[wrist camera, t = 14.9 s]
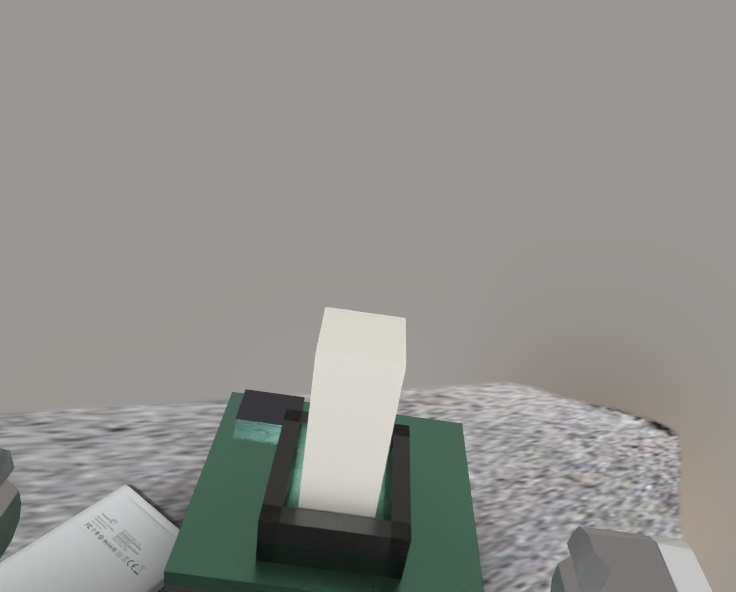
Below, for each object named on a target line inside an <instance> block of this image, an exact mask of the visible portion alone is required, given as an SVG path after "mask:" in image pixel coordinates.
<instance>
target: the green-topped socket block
mask: <svg viewBox="0 0 736 592" xmlns="http://www.w3.org/2000/svg"><path fill="white" fill-rule="evenodd" d="M304 398H305V397H297V396H290V395H283V394H275V393H268V392H260V391H253V390H245V393H244V394H243V393H236V392H232V394H231V397H230V399H229V402H228V405H227V407H226V410H225V413H224V415H223V418H222V420H221V423H220V426H219V428H218V431H217V433H216V436H215V439H214V441H213V444H212V446H211V449H210V452H209V454H208V457H207V460H206V462H205V465H204V467H203V470H202V473H201V475H200V478H199V480H198V483H197V486H196V488H195V491H194V494H193V496H192V499H191V501H190V504H189V507H188V509H187V512H186V514H185V517H184V520H183V522H182V525H181V528H180V530H179V533H178V535H177V538H176V541H175V543H174V546H173V548H172V551H171V554H170V556H169V559H168V561H167V564H166V567H165V569H164V588H165V592H484V591H483V583H482V575H481V567H480V560H479V552H478V544H477V536H476V529H475V521H474V513H473V505H472V497H471V490H470V482H469V474H468V466H467V459H466V451H465V443H464V435H463V428H462V423H455V422H447V421H440V420H433V419H425V418H418V417H411V416H403V415H396V417H395V422H394V427H393V432H392V437H391V442H390V447H389V452H388V456H387V461H386V466H385V471H384V476H383V481H382V486H381V491H380V495H379V500H378V505H377V510H376V515H375V519H372V518H365V517H357V516H349V515H342V514H334V513H327V512H319V511H312V510H304V509H298V504H299V496H300V487H301V478H302V469H303V461H304V452H305V443H306V434H307V425H308V417H309V408H310V403H309V402H304Z"/></svg>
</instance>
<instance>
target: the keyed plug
mask: <svg viewBox="0 0 736 592" xmlns="http://www.w3.org/2000/svg"><path fill="white" fill-rule="evenodd" d="M405 369H406V319H405V318H399V317H393V316H386V315H379V314H372V313H365V312H358V311H351V310H344V309H337V308H329V307H326V308H325V312H324V317H323V321H322V326H321V331H320V335H319V340H318V345H317V350H316V356H315V365H314V373H313V382H312V390H311V399H310V408H309V417H308V425H307V434H306V443H305V452H304V461H303V469H302V478H301V487H300V496H299V504H298V509H304V510H312V511H319V512H327V513H334V514H342V515H349V516H357V517H365V518H372V519H375V515H376V510H377V505H378V500H379V495H380V491H381V486H382V481H383V476H384V471H385V466H386V461H387V456H388V452H389V447H390V442H391V437H392V432H393V427H394V422H395V417H396V413H397V408H398V403H399V398H400V393H401V388H402V383H403V378H404V374H405Z"/></svg>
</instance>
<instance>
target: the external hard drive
mask: <svg viewBox="0 0 736 592" xmlns="http://www.w3.org/2000/svg"><path fill="white" fill-rule="evenodd" d="M178 533H179V529H178V528H177V527H176V526H175V525H173V524H172V523H171V522H170V521H169V520H168V519H166V518H165V517H164V516H163V515H162V514H161V513H160V512H158V511H157V510H156V509H155V508H154V507H153V506H151V505H150V504H149V503H148V502H147V501H146V500H144V499H143V498H142V497H141V496H140V495H139V494H137V493H136V492H135V491H134V490H133V489H132V488H130V487H129V486H127V485H124V486H122V487H121V488H119V489H117V490H116V491H114V492H113V493H111V494H110V495H108V496H106V497H105V498H103V499H101V500H100V501H98V502H97V503H95V504H93V505H92V506H90V507H89V508H87V509H85V510H84V511H82V512H81V513H79V514H77V515H76V516H74V517H72V518H71V519H69V520H68V521H66V522H64V523H63V524H61V525H60V526H58V527H56V528H55V529H53V530H52V531H50V532H49V533H47V534H45V535H44V536H42V537H41V538H39V539H37V540H36V541H34V542H33V543H31V544H29V545H28V546H26V547H25V548H23V549H21V550H20V551H18V552H17V553H15V554H13V555H12V556H10V557H8V558H7V559H5V560H4V561H2V562H0V592H158V591H159V590H160V589H162V588H163V587H164V569H165V567H166V564H167V561H168V559H169V556H170V554H171V551H172V548H173V546H174V543H175V541H176V538H177V535H178Z"/></svg>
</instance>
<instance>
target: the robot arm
mask: <svg viewBox="0 0 736 592" xmlns="http://www.w3.org/2000/svg"><path fill="white" fill-rule="evenodd" d="M13 469H14V465H13V461H12V457H11V453H10V451H8V450H5V449H1V448H0V558H1V556H2V555H3V553H4V552H5V550H6V548H7V547H8V545H9V544H10V542H11V540H12V538H13V535H14V533H15V530H16V527H17V524H18V522H19V519H20V509H21V500H20V495H19V490H18V489H17V488H16V487H15V486H14V485H13V484H12V483H11V482H10V481H8V480H7V478H8V476H9V475H10V473H11V472H12V471H13ZM567 544H568V547H569V551H570V555H571V556H570V557H568V558H566V559H565V560H563V561H561V562H559V563H558V565H557V567H556V570H555V572H554V575H553V577H552V583H551V592H712V590H711V588H710V585H709V584H708V581H707V579H706V577H705V575H704V573H703V571H702V569H701V567H700V565H699V563H698V562H697V559H696V557H695V555H694V553H693V551H692V549H691V547H690V546H689V545H688V544H687V543H686V542H685V541H684V540H678V539H670V538H663V537H655V536H645V535H643V534H635V533H627V532H619V531H611V530H603V529H595V528H587V527H578V528H577V529H576V530H575V531H573V533H572V535H571V537H570V539H569V541H568V543H567Z"/></svg>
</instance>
